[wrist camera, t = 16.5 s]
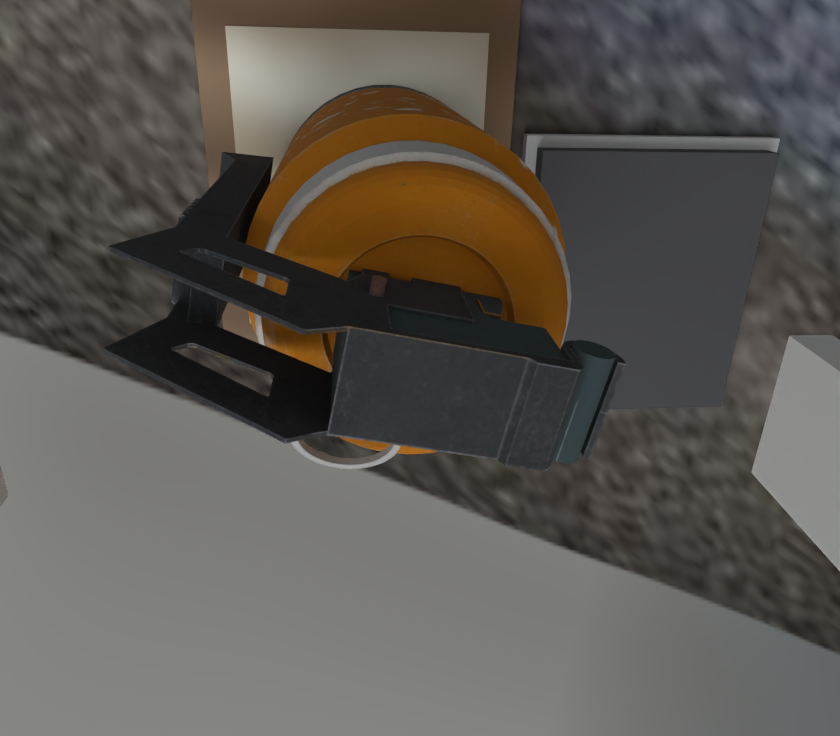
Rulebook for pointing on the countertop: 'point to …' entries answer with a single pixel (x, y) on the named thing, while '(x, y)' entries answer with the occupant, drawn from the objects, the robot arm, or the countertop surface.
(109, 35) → the countertop surface
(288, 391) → the canister
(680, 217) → the ink pad
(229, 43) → the box board
